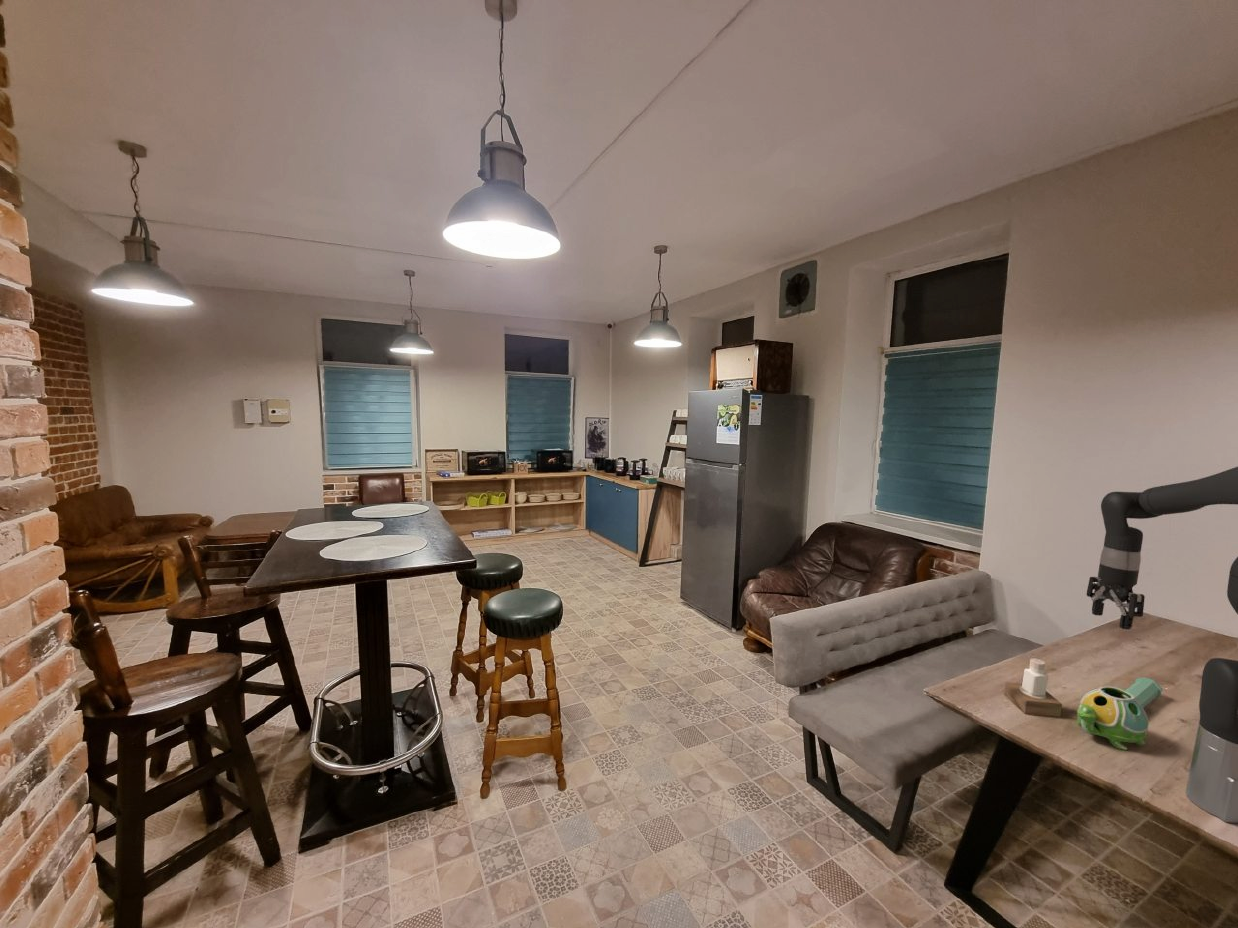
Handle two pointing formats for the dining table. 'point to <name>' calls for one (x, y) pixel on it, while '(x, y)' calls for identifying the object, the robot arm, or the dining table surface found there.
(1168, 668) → the dining table surface
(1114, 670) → the dining table surface
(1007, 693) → the base
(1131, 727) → the turtle holder
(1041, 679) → the salt shaker
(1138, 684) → the container
